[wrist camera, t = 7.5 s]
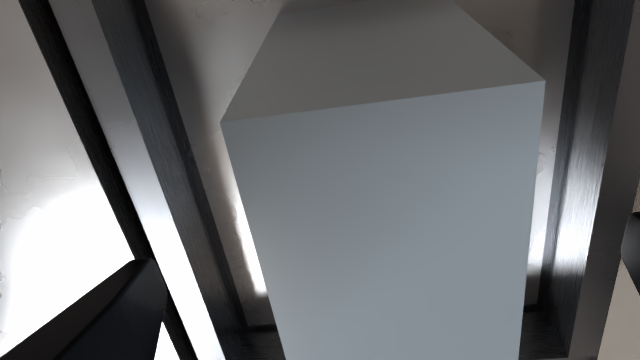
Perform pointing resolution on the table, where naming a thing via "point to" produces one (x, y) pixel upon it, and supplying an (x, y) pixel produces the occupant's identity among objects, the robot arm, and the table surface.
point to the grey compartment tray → (219, 181)
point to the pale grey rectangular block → (389, 181)
